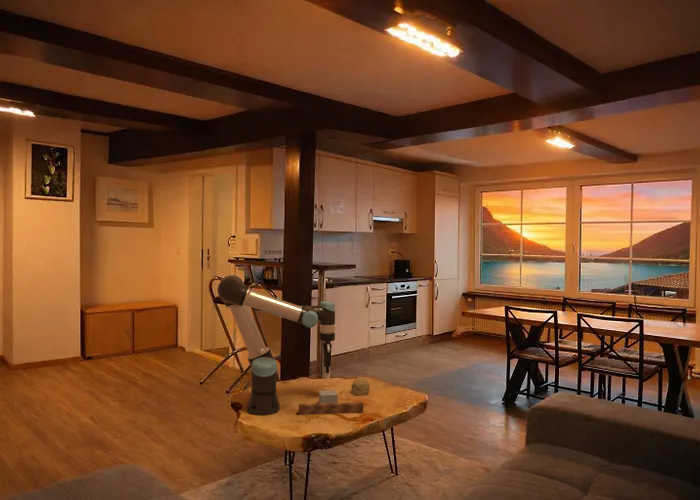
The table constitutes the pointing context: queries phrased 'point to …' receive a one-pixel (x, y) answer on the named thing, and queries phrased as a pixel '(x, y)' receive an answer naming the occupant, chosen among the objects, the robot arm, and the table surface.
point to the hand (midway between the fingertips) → (327, 378)
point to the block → (328, 396)
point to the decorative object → (360, 387)
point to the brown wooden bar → (330, 408)
